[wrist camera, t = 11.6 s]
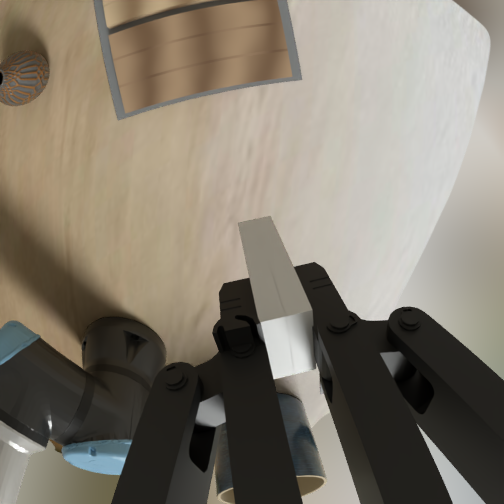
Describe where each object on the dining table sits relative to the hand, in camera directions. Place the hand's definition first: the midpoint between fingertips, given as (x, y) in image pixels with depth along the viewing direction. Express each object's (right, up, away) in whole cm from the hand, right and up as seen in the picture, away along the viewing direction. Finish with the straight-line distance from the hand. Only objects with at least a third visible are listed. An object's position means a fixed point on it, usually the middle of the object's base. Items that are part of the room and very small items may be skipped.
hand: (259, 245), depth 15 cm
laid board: (-6, +22, +14) cm, 27 cm away
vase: (-28, +22, +12) cm, 37 cm away
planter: (+1, -38, +50) cm, 63 cm away
